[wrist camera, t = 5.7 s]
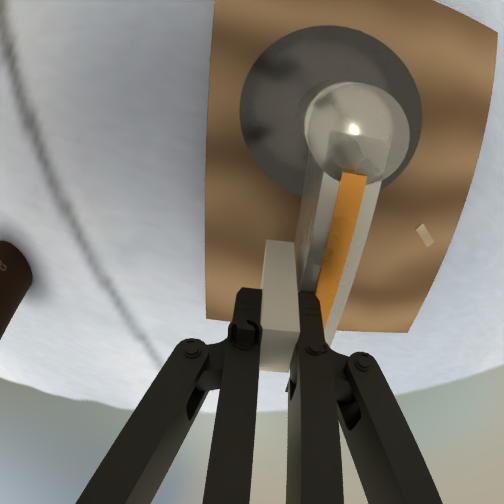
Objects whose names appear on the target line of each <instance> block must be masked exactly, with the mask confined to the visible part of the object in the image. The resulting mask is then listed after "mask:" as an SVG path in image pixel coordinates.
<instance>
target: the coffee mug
mask: <svg viewBox="0 0 504 504" xmlns="http://www.w3.org/2000/svg"><path fill="white" fill-rule="evenodd" d="M31 284H32V272H31V269H30V266H29V264H28V262H27V261H26V259H25V257H24V256H23V255H22V253H21V252H20V251H19V250H18V249H17V248H16V247H15V246H13V245H12V244H11V243H9V242H6V241H0V339H1V337H2V335H3V334H4V332H5V330H6V328H7V326H8V324H9V322H10V320H11V318H12V317H13V315H14V313H15V311H16V309H17V308H18V306H19V304H20V302H21V301H22V299H23V297H24V296H25V294H26V292H27V291H28V289H29V287H30V286H31Z"/></svg>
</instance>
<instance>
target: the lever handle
mask: <svg viewBox="0 0 504 504" xmlns="http://www.w3.org/2000/svg"><path fill="white" fill-rule="evenodd" d="M239 117H240V124H241V130H242V134H243V138H244V141H245V143H246V146H247V148H248V150H249V152H250V154H251V156H252V157H253V159H254V161H255V162H256V164H257V165H258V166H259V167H260V169H261V170H262V171H263V172H264V173H265V174H266V175H267V176H268V177H269V178H270V179H271V180H272V181H273V182H275V183H276V184H277V185H279V186H280V187H282V188H283V189H285V190H287V191H288V192H290V193H292V194H294V195H297V196H299V197H302V199H301V205H300V212H299V218H298V224H297V230H296V236H295V242H294V252H295V264H296V277H297V291H298V292H303V293H314V294H315V295H316V296H317V298H318V299H319V301H320V306H321V313H322V320H323V328H324V335H325V341H326V343H327V344H328V345H329V347H330V345H331V343H332V340H333V337H334V335H335V332H336V330H337V327H338V324H339V321H340V319H341V316H342V313H343V310H344V307H345V305H346V302H347V299H348V296H349V293H350V290H351V287H352V284H353V281H354V278H355V275H356V272H357V269H358V265H359V262H360V259H361V256H362V252H363V249H364V246H365V242H366V239H367V235H368V232H369V228H370V225H371V221H372V218H373V214H374V210H375V206H376V202H377V198H378V195H379V191H380V190H382V189H384V188H385V187H387V186H388V185H389V184H391V183H392V182H393V181H394V180H395V179H396V178H397V177H398V176H399V175H400V174H401V173H402V172H403V171H404V169H405V168H406V167H407V165H408V164H409V162H410V160H411V159H412V157H413V155H414V153H415V151H416V148H417V146H418V142H419V139H420V135H421V129H422V106H421V100H420V96H419V92H418V89H417V86H416V84H415V81H414V79H413V77H412V75H411V73H410V72H409V70H408V68H407V67H406V66H405V64H404V63H403V61H402V60H401V59H400V58H399V57H398V56H397V55H396V54H395V53H394V52H393V51H392V50H391V49H390V48H389V47H388V46H386V45H385V44H384V43H382V42H381V41H379V40H378V39H376V38H374V37H373V36H371V35H368V34H366V33H364V32H362V31H359V30H356V29H352V28H348V27H343V26H335V25H320V26H312V27H307V28H303V29H300V30H296V31H294V32H292V33H290V34H287V35H285V36H283V37H282V38H280V39H279V40H277V41H275V42H274V43H273V44H272V45H270V46H269V47H268V48H267V49H266V50H265V51H264V52H263V53H262V54H261V55H260V56H259V57H258V59H257V60H256V61H255V63H254V64H253V66H252V67H251V69H250V71H249V73H248V75H247V77H246V79H245V82H244V85H243V89H242V92H241V98H240V109H239Z"/></svg>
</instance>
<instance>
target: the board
mask: <svg viewBox="0 0 504 504" xmlns="http://www.w3.org/2000/svg"><path fill="white" fill-rule="evenodd" d="M320 25H335V26H343V27H348V28H352V29H356V30H359V31H362V32H364V33H366V34H368V35H371V36H373V37H374V38H376V39H378V40H379V41H381V42H382V43H384V44H385V45H386V46H388V47H389V48H390V49H391V50H392V51H393V52H394V53H395V54H396V55H397V56H398V57H399V58H400V59H401V60H402V61H403V63H404V64H405V66H406V67H407V68H408V70H409V72H410V73H411V75H412V77H413V79H414V81H415V84H416V86H417V89H418V92H419V96H420V100H421V106H422V129H421V135H420V139H419V142H418V146H417V148H416V151H415V153H414V155H413V157H412V159H411V160H410V162H409V164H408V165H407V167H406V168H405V169H404V171H403V172H402V173H401V174H400V175H399V176H398V177H397V178H396V179H395V180H394V181H393V182H392V183H391V184H389V185H388V186H387V187H385V188H384V189H382V190H380V191H379V195H378V198H377V202H376V206H375V210H374V214H373V218H372V221H371V225H370V228H369V232H368V235H367V239H366V242H365V246H364V249H363V252H362V256H361V259H360V262H359V265H358V269H357V272H356V275H355V278H354V281H353V284H352V287H351V290H350V293H349V296H348V299H347V302H346V305H345V307H344V310H343V313H342V316H341V319H340V321H339V324H338V327H337V330H339V331H361V332H395V333H408V331H409V329H410V327H411V325H412V323H413V321H414V320H415V318H416V316H417V314H418V312H419V310H420V308H421V306H422V304H423V302H424V300H425V298H426V296H427V294H428V292H429V290H430V288H431V286H432V284H433V281H434V279H435V277H436V275H437V273H438V270H439V268H440V266H441V264H442V261H443V259H444V256H445V254H446V252H447V249H448V247H449V244H450V242H451V239H452V237H453V234H454V232H455V229H456V226H457V224H458V221H459V218H460V215H461V212H462V210H463V207H464V204H465V201H466V198H467V195H468V191H469V188H470V185H471V182H472V178H473V175H474V171H475V168H476V164H477V160H478V157H479V153H480V149H481V145H482V140H483V136H484V132H485V127H486V122H487V117H488V112H489V106H490V101H491V94H492V88H493V80H494V72H495V63H496V52H497V37H498V33H497V32H496V31H494V30H492V29H490V28H489V27H487V26H485V25H483V24H481V23H479V22H478V21H476V20H474V19H472V18H470V17H468V16H466V15H464V14H462V13H460V12H458V11H456V10H453V9H451V8H449V7H447V6H445V5H442V4H440V3H438V2H435V1H433V0H215V6H214V18H213V30H212V43H211V57H210V73H209V90H208V111H207V137H206V173H205V287H206V319H213V320H221V321H230V322H232V318H233V312H234V306H235V300H236V294H237V292H238V291H239V290H240V289H241V288H242V287H246V288H256V289H261V280H262V271H263V263H264V255H265V247H266V240H276V241H285V242H295V236H296V230H297V224H298V218H299V212H300V205H301V199H302V197H299V196H297V195H294V194H292V193H290V192H288V191H287V190H285V189H283V188H282V187H280V186H279V185H277V184H276V183H275V182H273V181H272V180H271V179H270V178H269V177H268V176H267V175H266V174H265V173H264V172H263V171H262V170H261V169H260V167H259V166H258V165H257V164H256V162H255V161H254V159H253V157H252V156H251V154H250V152H249V150H248V148H247V146H246V143H245V141H244V138H243V134H242V130H241V124H240V117H239V109H240V98H241V92H242V89H243V85H244V82H245V79H246V77H247V75H248V73H249V71H250V69H251V67H252V66H253V64H254V63H255V61H256V60H257V59H258V57H259V56H260V55H261V54H262V53H263V52H264V51H265V50H266V49H267V48H268V47H269V46H270V45H272V44H273V43H274V42H275V41H277V40H279V39H280V38H282V37H283V36H285V35H287V34H290V33H292V32H294V31H296V30H300V29H303V28H307V27H312V26H320Z"/></svg>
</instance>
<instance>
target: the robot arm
mask: <svg viewBox="0 0 504 504" xmlns="http://www.w3.org/2000/svg"><path fill="white" fill-rule="evenodd" d="M289 369H290V378H289V381H288V384H287V387H286V391H285V392H288V446H287V448H288V449H287V485H286V504H344V496H343V478H342V477H343V476H342V460H341V446H340V435H339V423H340V425H341V428H342V431H343V433H344V436H345V439H346V442H347V445H348V447H349V450H350V453H351V456H352V458H353V461H354V464H355V466H356V469H357V472H358V475H359V478H360V481H361V483H362V486H363V489H364V492H365V495H366V498H367V501H368V503H369V504H443V503H442V501H441V498H440V496H439V493H438V491H437V489H436V486H435V484H434V482H433V479H432V477H431V475H430V472H429V470H428V468H427V466H426V463H425V461H424V458H423V456H422V454H421V452H420V450H419V447H418V445H417V443H416V441H415V439H414V437H413V434H412V432H411V430H410V428H409V426H408V424H407V422H406V419H405V417H404V416H403V413H402V411H401V409H400V407H399V405H398V403H397V401H396V399H395V397H394V395H393V393H392V391H391V389H390V387H389V385H388V383H387V381H386V379H385V377H384V375H383V373H382V371H381V369H380V367H379V365H378V363H377V361H376V360H375V359H374V357H373V356H371V355H370V354H368V353H365V352H355V353H353V354H352V355H351V356H350V357H348V356H345V355H342V354H339V353H337V352H335V351H333V350H332V349H331V348H330V347H329V345H328V344H327V343H326V341H325V335H324V328H323V320H322V313H321V306H320V301H319V299H318V298H317V296H316V295H315V294H314V293H303V292H298V291H297V277H296V264H295V252H294V242H285V241H276V240H266V247H265V255H264V263H263V271H262V280H261V289H256V288H246V287H242V288H241V289H240V290H239V291H238V292H237V294H236V300H235V306H234V312H233V318H232V322H231V323H230V325H229V327H228V337H227V338H226V339H225V340H224V341H222V342H219V343H215V344H209V345H206V344H205V343H204V342H203V341H201V340H199V339H194V338H190V339H185V340H183V341H181V342H180V343H179V344H178V345H177V346H176V347H175V349H174V350H173V352H172V353H171V355H170V356H169V358H168V359H167V361H166V363H165V364H164V366H163V367H162V369H161V370H160V372H159V373H158V375H157V376H156V378H155V379H154V381H153V383H152V384H151V386H150V387H149V389H148V390H147V392H146V393H145V395H144V396H143V398H142V400H141V401H140V403H139V404H138V406H137V407H136V409H135V410H134V412H133V414H132V415H131V417H130V418H129V420H128V422H127V423H126V425H125V426H124V428H123V429H122V431H121V432H120V434H119V436H118V437H117V439H116V440H115V442H114V443H113V445H112V446H111V448H110V450H109V451H108V453H107V454H106V456H105V458H104V459H103V461H102V462H101V464H100V465H99V467H98V469H97V470H96V472H95V473H94V475H93V477H92V478H91V480H90V481H89V483H88V484H87V486H86V488H85V489H84V491H83V493H82V494H81V496H80V497H79V499H78V500H77V502H76V504H150V503H151V502H152V500H153V498H154V496H155V494H156V492H157V490H158V489H159V487H160V485H161V483H162V481H163V479H164V477H165V475H166V473H167V472H168V470H169V468H170V466H171V464H172V462H173V460H174V458H175V456H176V455H177V453H178V451H179V449H180V447H181V445H182V443H183V441H184V439H185V437H186V435H187V433H188V431H189V429H190V427H191V425H192V424H193V422H194V420H195V418H196V416H197V414H198V412H199V410H200V408H201V406H202V404H203V402H204V400H205V398H206V396H207V394H208V392H209V390H215V389H220V392H219V398H218V405H217V411H216V418H215V425H214V431H213V437H212V444H211V450H210V458H209V463H208V470H207V477H206V483H205V490H204V497H203V504H249V501H250V488H251V476H252V463H253V449H254V437H255V436H254V435H255V422H256V409H257V394H258V379H259V370H262V371H274V372H289ZM338 420H339V422H338Z"/></svg>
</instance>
